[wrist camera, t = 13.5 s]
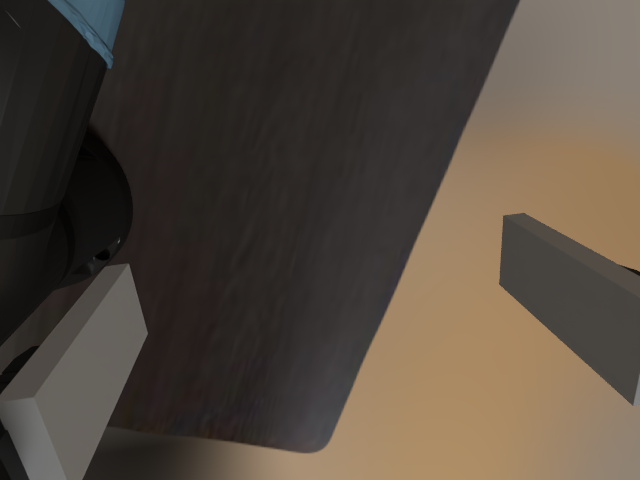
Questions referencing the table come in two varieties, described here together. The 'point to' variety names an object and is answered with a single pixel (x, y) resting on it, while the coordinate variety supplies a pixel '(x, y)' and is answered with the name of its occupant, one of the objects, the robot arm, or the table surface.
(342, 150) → the table surface
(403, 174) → the table surface
